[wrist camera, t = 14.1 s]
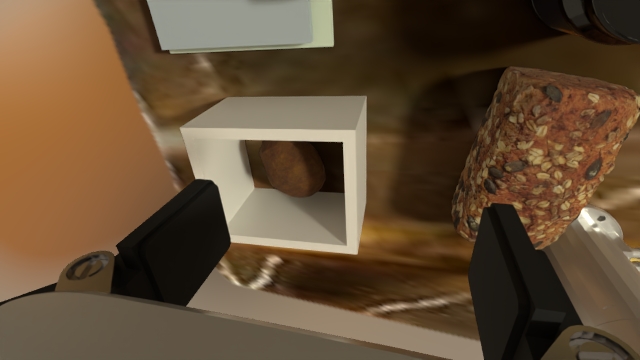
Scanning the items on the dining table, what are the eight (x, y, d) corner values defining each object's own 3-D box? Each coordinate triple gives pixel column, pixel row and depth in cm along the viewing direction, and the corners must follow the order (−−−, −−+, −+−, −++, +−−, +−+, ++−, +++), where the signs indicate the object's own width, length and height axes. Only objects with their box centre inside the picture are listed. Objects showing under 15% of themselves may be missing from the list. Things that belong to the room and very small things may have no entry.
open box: (366, 95, 38) (355, 130, 29) (366, 201, 46) (357, 254, 37) (227, 97, 42) (179, 127, 33) (248, 193, 50) (214, 240, 41)
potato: (293, 108, 41) (272, 131, 35) (342, 162, 44) (332, 193, 37) (258, 140, 45) (233, 167, 38) (305, 188, 47) (290, 221, 41)
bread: (500, 59, 34) (533, 83, 25) (609, 76, 32) (682, 107, 24) (444, 200, 44) (454, 251, 35) (525, 218, 42) (556, 274, 34)
